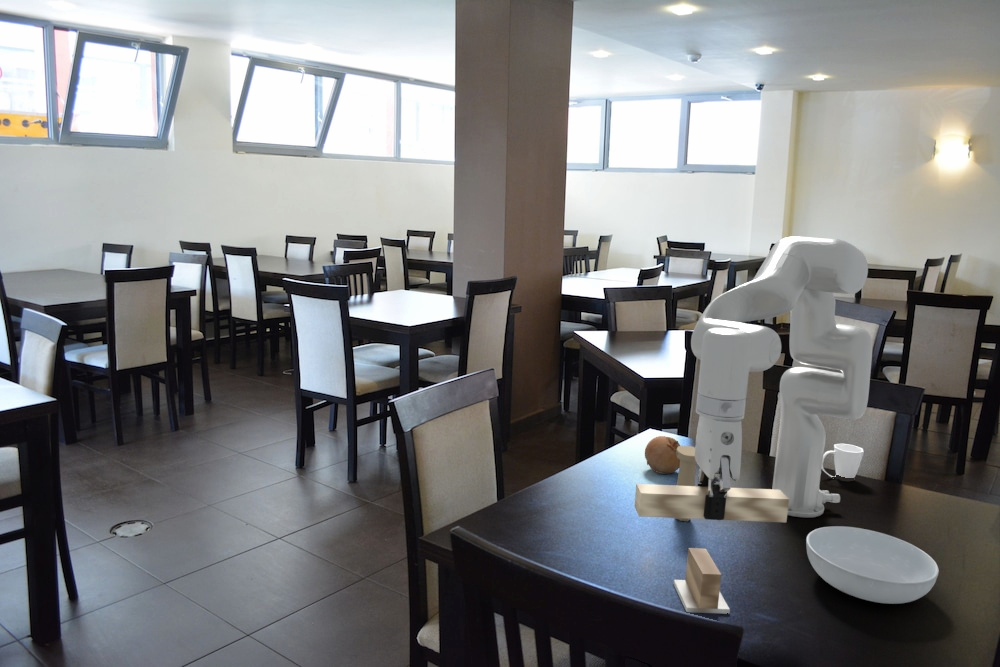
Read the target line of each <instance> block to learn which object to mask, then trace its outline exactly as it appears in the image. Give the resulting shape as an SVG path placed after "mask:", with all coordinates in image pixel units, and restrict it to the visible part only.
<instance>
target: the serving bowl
mask: <svg viewBox="0 0 1000 667" xmlns="http://www.w3.org/2000/svg"><path fill="white" fill-rule="evenodd" d="M805 541H806V542H805V544H806V545H805V546H806V554H807V558H808V561H809V562H810V564H811V567H812V568H813V569H814V571H815V572H816V573H817V574H818V576H820V578H822V580H823V581H825V582H826V583H828V584H829V585H830V586H832V587H833V588H835V589H837V590H839V591H840V592H842V593H845V594H846V595H849V596H853V597H855V598H858V599H861V600H865V601H867V602H868V601H869V602H873V603H880V604H887V605H888V604H889V605H890V604H892V605H894V604H895V605H897V604H898V605H899V604H905V603H906V604H907V603H911V602H914V601H916V600H919V599H920V598H923V597H924V596H925V595H927V594H928V593H929V592H930V591H931V590H932V588H933V587H934V585H935V584H936V582H937V578H938V576H939V573H940V571H939V567H938V564H937V562H936V561H935V560H934V559H933V557H932V556H930V555H929V554H928V553H926V552H925V551H924V550H922V549H920V548H919V547H917V546H915V545H914V544H912V543H910V542H907V541H905V540H902V539H901V538H898V537H895V536H892V535H890V534H886V533H884V532H879V531H875V530H871V529H866V528H865V529H864V528H861V527H854V526H842V525H840V526H838V525H836V526H833V525H832V526H823V527H819V528H815V529H814V530H812V531H810V532H809V533H808V534H807V535H806V539H805Z"/></svg>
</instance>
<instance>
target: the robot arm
mask: <svg viewBox="0 0 1000 667" xmlns="http://www.w3.org/2000/svg"><path fill="white" fill-rule="evenodd" d="M868 274H869V266H868V261H867V258H866V256H865V254H864V252H863V251H862V250H860V249H859V248H857V247H856V246H854V245H853V244H852V243H850V242H848V241H845V240H842V239H838V238H837V239H836V238H826V237H825V238H824V237H811V236H797V235H796V236H788V237H783V238H781V239H780V240H778V241H776V243H774V245H773V246H772V247H771V249H770V251H769V252H768V254H767V255H766V258H765V259H764V260H763V262H762V263H761V266H760V267H759V269H758V270H757V272H756V274H755V276H754V277H753V278H752V280H750V281H748V282H745V283H743V284H740V285H737V286H736V287H734V288H731V289H730V290H728V291H726V292H723V293H722V294H720V295H718V296H717V297H715V298H714V299H713V300H712V301H710V302H709V304H708V305H707V306H706V308H704V311H703V313H702V314H701V315H700V317H699V318H698V320H697V321H696V322H697V323H696V324H695V327H693V332H692V334H691V338H690V347H691V351H692V353H693V355H694V356H695V358H697V359H698V360H700V363H699V364H700V365H699V372H698V373H699V374H698V384H697V396H696V403H695V404H696V405H695V413H696V414H697V415H699V417H698V423H697V429H696V435H695V436H696V437H695V446H694V447H695V460H696V465H698V476H697V482H698V483H697V486H700V487H708V495H706V497H705V507H704V518H705V519H704V520H712V521H713V520H716V521H724V520H723V519H724V515H725V505H726V498H727V491H728V490H730V488H732V486H731V479H732V480H733V481H734V482H737V481H738V480H739V479H740V477H741V476H740V475H741V467H742V466H741V464H742V446H743V444H742V442H743V429H742V427H743V425H742V420H743V419H744V418H745V412H746V406H747V405H746V403H747V393H748V384H749V374H750V372H763V371H766V370H768V369H771V368H772V367H773V366H774V365H775V364H776V363H777V362H778V360H779V358H780V357H781V352H782V341H781V337H780V335H779V334H778V333H777V332H776V331H775V330H774V329H772V328H770V327H768V326H764V325H759V324H754V323H753V324H752V323H747V322H752V321H761V320H765V319H766V320H767V319H771V318H775V317H780V316H782V315H783V316H784V315H785V314H787V313H789V312H790V322H789V323H790V325H789V343H788V344H789V354H790V357H791V358H792V359H793V361H795V362H797V363H800V364H803V365H808V366H812V367H806V366H795V367H791V368H788V369H786V370H785V371H784V372H783V374H782V375H781V377H780V379H779V380H780V381H779V399H780V400H779V401H780V402H779V403H780V415H779V426H778V427H779V428H778V436H777V444H776V453H775V461H774V462H775V463H774V471H773V479H772V489H776V490H781V491H782V492H783V493H784V494H785V495H786V497H787V498H788V499H789V504H788V512H787V516H790V517H794V518H795V517H797V518H805V519H806V518H808V519H809V518H816V517H820V516H821V515H823V514H824V511H825V505H824V504H826V503H829V502H830V503H835V504H837V503H840V502H841V495H840V494H839V493H830V491H829V490H824V489H822V490H821V489H820V485H821V483H820V482H821V477H822V476H821V474H822V461H823V454H824V453H825V446H826V430H825V427H824V424H823V423H822V421H821V419H820V417H819V416H825V417H829V418H830V417H832V418H835V419H839V420H847V421H856V420H859V419H861V418H862V417H863V416H864V415H865V413H866V410H867V406H868V402H869V393H870V382H871V381H870V380H871V373H872V372H871V370H872V359H873V340H872V336H871V334H870V332H869V331H868V330H866V329H865V328H864V327H860V326H857V325H850V324H843V323H842V324H841V323H838V322H837V321H836V319H835V318H836V317H835V314H836V297H835V294H840V295H842V294H843V295H854V294H857V293H858V292H859V291H861V290H862V289H863V287H864V286H865V283H866V281H867V278H868ZM814 367H817V368H814ZM820 368H823V369H820ZM825 368H826V369H830V370H831V371H830V370H825ZM832 370H836V371H832ZM837 371H840V372H837ZM818 415H819V416H818ZM823 462H824V461H823ZM718 475H719V476H718ZM716 482H717V483H718V484H717V483H716Z"/></svg>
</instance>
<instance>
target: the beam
mask: <svg viewBox="0 0 1000 667" xmlns="http://www.w3.org/2000/svg"><path fill="white" fill-rule="evenodd" d="M706 495H708V487H700V486H698V485H697V486H696V485H695V486H677V484H676V485H675V484H674V485H671V484H651V483H650V484H649V483H648V484H646V483H636V484H635V495H634V496H635V498H634V508H635V511H636V513H637V515H638V517H639V518H640V517H641V518H663V519H664V518H665V519H676V518H687V519H689V520H691V519H692V520H694V519H695V520H706V519H705V518H704V507H705V497H706ZM788 504H789V499H788V498H787V497H786V495H785V494H784V493H783V492H782V491H781V490H776V489H771V488H750V487H749V488H747V487H746V488H744V487H731V488H730V490H728V491H727V498H726V505H725V515H724V519H723V520H722V521H740V522H741V521H743V522H762V523H763V522H767V523H787V520H788V515H787V512H788Z"/></svg>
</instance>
